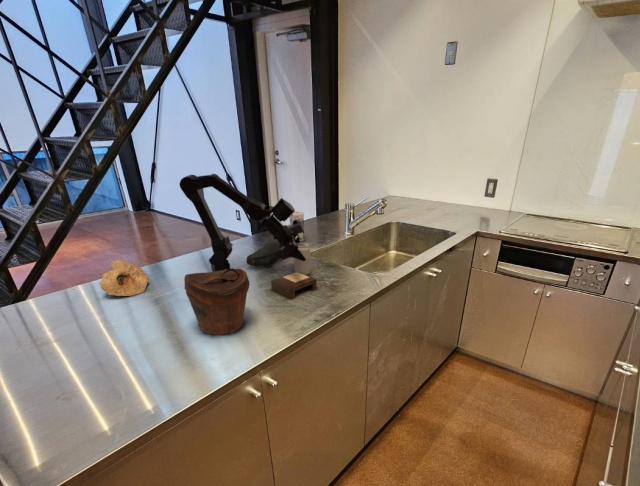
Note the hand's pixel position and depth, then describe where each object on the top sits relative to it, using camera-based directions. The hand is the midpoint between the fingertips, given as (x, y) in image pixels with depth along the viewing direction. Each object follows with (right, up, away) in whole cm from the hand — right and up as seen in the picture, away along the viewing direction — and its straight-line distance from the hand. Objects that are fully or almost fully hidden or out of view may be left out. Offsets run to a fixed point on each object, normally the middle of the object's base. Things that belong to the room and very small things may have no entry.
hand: (305, 257), depth 151 cm
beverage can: (-2, -6, +3) cm, 7 cm away
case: (-23, -27, -32) cm, 48 cm away
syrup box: (-9, +18, +49) cm, 53 cm away
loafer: (-17, +2, +20) cm, 26 cm away
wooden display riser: (-4, -13, -7) cm, 16 cm away
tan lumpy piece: (-65, -14, -11) cm, 68 cm away
